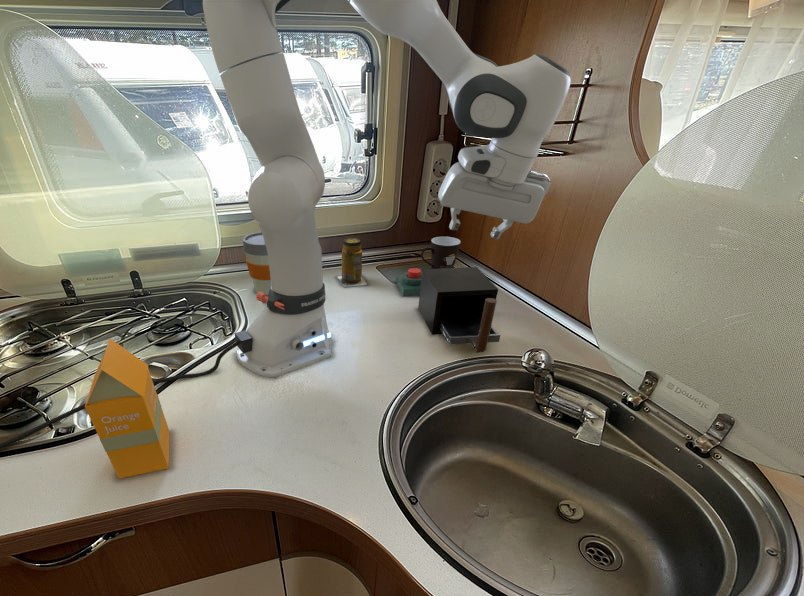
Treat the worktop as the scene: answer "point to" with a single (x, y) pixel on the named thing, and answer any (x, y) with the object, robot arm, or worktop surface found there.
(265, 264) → the reusable coffee cup
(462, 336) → the tray
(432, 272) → the oven
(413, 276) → the stop button
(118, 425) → the orange juice
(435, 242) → the coffee mug
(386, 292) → the worktop surface
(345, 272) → the condiment
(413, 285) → the control box
